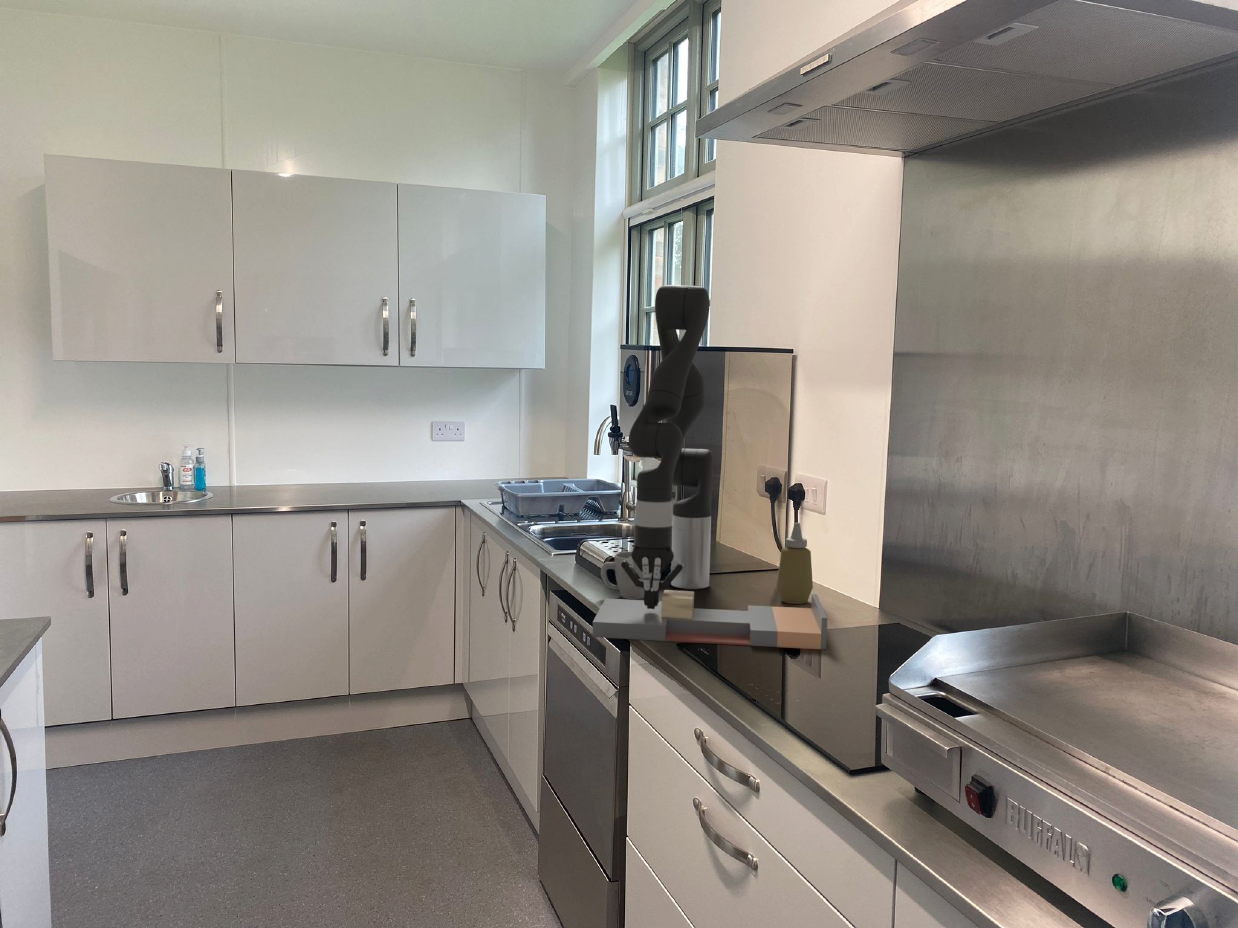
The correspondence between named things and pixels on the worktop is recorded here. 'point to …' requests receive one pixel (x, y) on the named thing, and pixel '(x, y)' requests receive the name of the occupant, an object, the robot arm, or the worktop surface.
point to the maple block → (677, 604)
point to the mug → (623, 577)
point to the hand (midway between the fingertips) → (651, 607)
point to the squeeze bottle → (795, 569)
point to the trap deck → (716, 625)
